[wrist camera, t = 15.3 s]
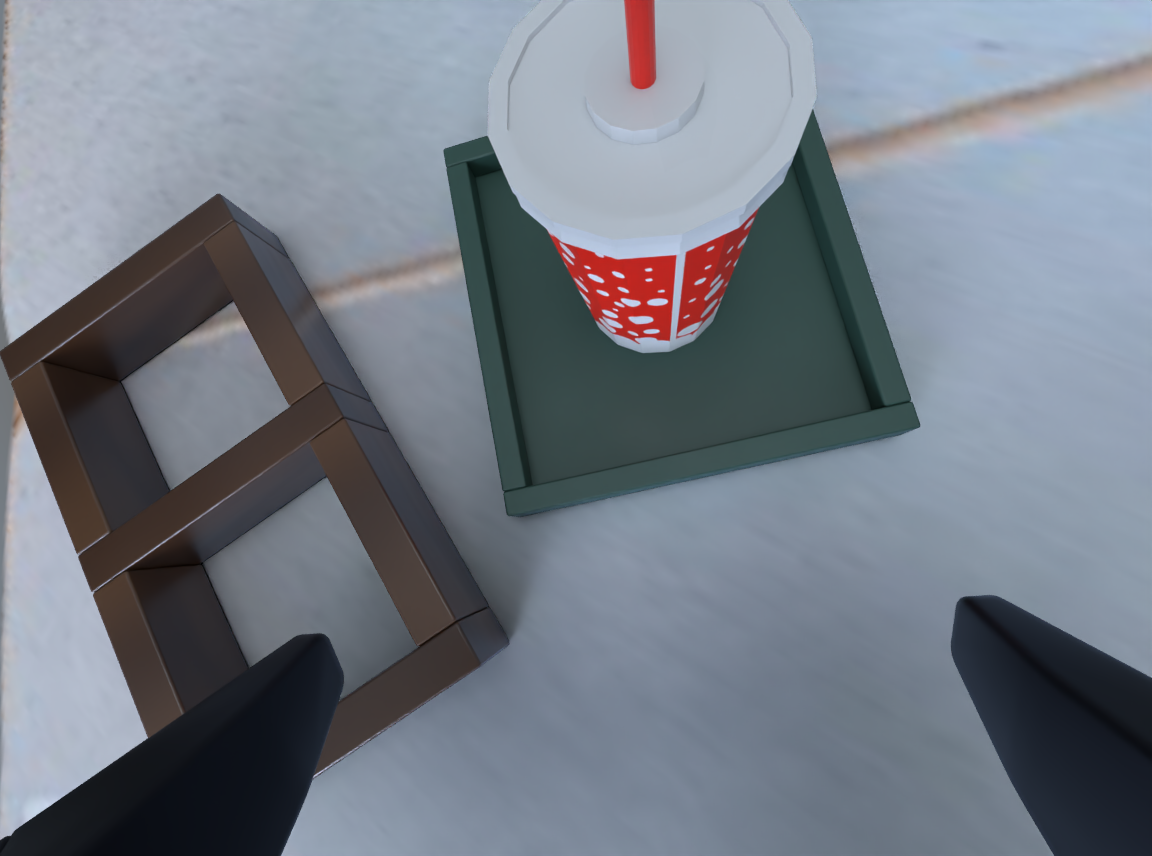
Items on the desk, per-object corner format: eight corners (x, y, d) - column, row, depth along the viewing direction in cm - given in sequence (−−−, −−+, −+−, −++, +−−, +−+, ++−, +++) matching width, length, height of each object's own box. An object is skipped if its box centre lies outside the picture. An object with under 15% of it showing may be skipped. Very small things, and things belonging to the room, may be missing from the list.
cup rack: (511, 643, 18) (481, 665, 15) (267, 807, 18) (192, 860, 16) (276, 234, 22) (218, 191, 20) (82, 373, 23) (-4, 351, 20)
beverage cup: (721, 187, 19) (855, -639, 6) (767, 351, 18) (1086, -199, 4) (552, 233, 20) (305, -398, 6) (585, 393, 19) (367, 38, 5)
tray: (900, 434, 17) (922, 426, 16) (519, 517, 19) (506, 516, 17) (782, 76, 20) (791, 41, 19) (457, 173, 22) (442, 148, 20)
